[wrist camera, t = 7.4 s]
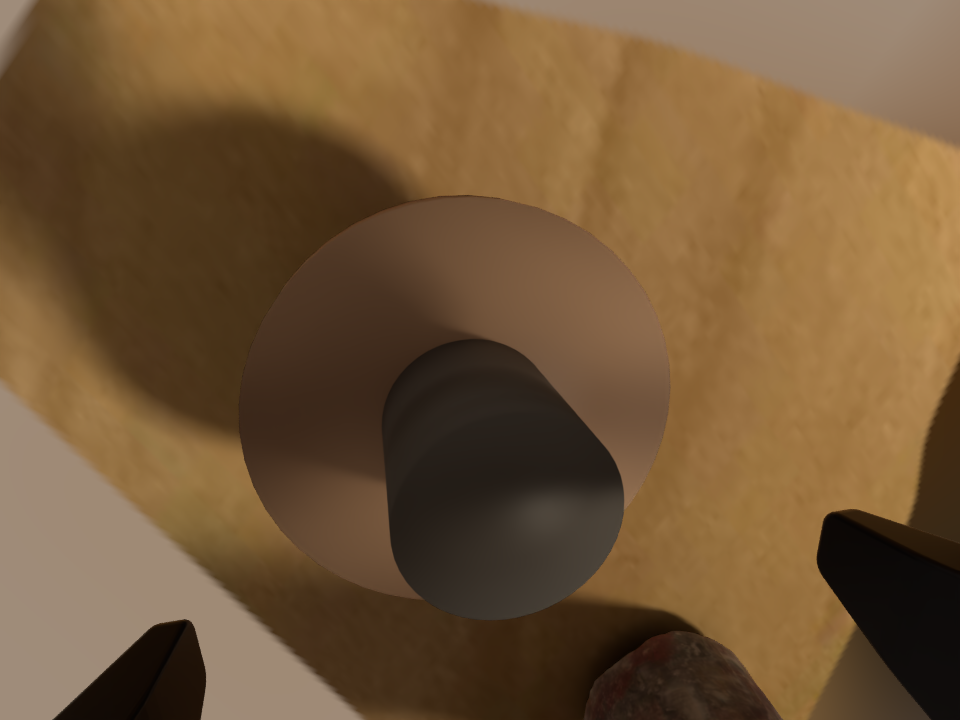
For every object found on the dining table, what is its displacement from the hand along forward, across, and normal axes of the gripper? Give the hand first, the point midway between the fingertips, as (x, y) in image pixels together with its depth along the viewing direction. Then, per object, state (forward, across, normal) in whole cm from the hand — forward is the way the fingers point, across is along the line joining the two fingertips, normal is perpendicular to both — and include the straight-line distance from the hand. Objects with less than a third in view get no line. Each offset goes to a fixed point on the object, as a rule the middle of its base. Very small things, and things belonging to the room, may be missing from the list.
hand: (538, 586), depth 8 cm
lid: (+7, 0, 0) cm, 7 cm away
